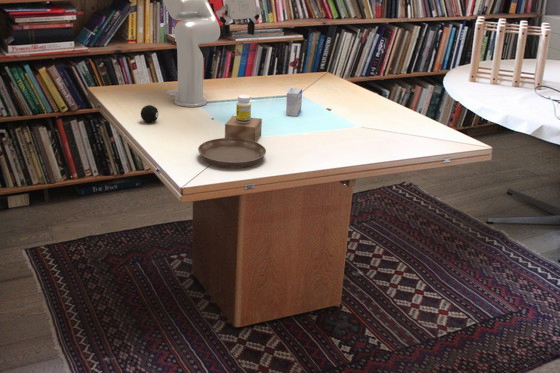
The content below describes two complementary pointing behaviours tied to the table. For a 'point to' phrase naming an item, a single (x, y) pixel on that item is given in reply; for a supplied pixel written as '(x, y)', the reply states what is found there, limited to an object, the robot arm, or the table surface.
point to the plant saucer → (232, 152)
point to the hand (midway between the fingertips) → (238, 35)
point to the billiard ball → (149, 113)
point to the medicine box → (294, 102)
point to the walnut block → (243, 129)
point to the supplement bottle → (243, 109)
